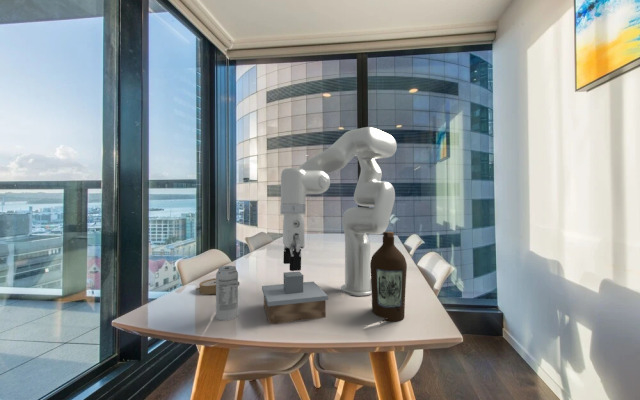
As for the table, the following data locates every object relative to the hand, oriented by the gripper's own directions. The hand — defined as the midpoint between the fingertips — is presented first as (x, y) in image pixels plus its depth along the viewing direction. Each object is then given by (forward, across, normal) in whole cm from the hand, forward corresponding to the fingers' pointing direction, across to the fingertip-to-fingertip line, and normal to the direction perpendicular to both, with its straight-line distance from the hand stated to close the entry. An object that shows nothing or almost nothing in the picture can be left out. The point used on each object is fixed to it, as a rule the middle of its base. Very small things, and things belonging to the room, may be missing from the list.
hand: (291, 266), depth 88 cm
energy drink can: (+15, +2, +18) cm, 24 cm away
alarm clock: (+15, +31, +21) cm, 41 cm away
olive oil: (+14, -8, -28) cm, 32 cm away
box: (+14, 0, -1) cm, 14 cm away
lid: (+9, 0, -1) cm, 9 cm away
